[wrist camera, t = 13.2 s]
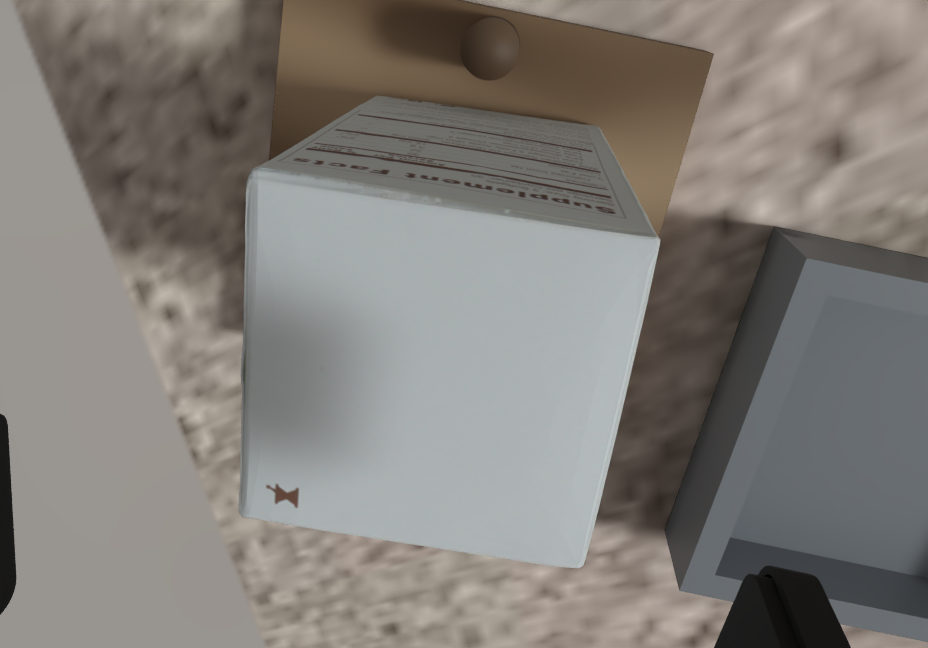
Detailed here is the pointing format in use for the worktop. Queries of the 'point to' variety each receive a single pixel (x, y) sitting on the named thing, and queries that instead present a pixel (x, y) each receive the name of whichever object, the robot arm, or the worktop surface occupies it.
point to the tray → (818, 437)
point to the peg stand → (492, 76)
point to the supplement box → (440, 329)
